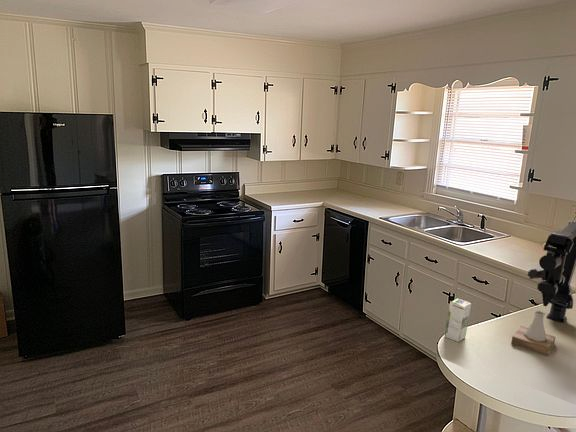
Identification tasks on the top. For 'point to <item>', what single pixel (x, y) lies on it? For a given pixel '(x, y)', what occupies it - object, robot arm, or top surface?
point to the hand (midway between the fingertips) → (547, 302)
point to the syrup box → (457, 320)
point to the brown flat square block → (532, 342)
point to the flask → (536, 328)
